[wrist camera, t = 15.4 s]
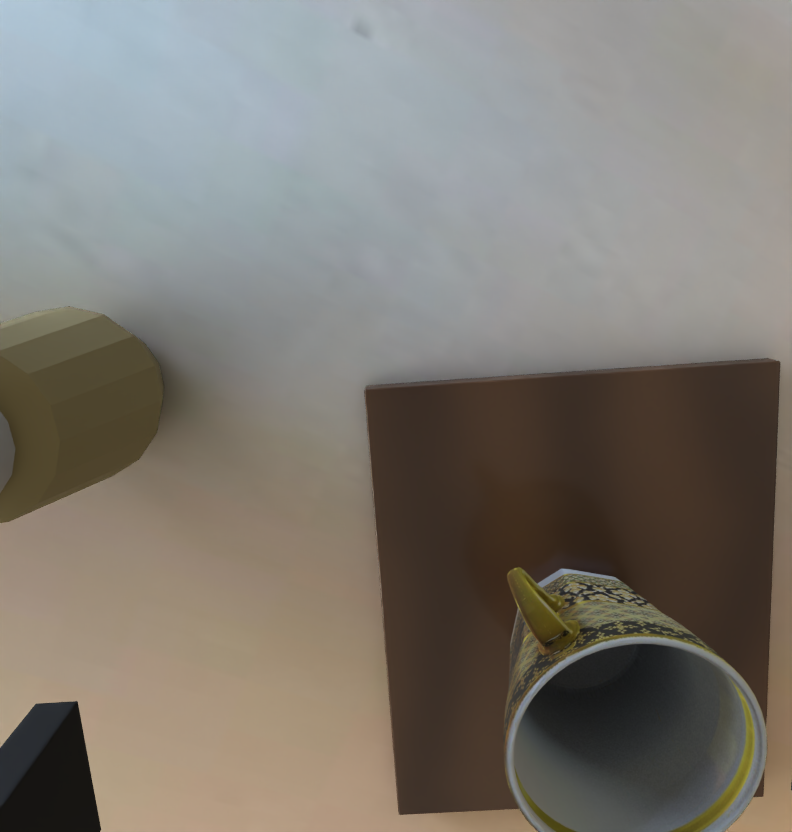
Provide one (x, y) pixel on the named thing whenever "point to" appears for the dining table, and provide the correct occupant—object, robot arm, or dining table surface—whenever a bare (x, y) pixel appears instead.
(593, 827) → the ceramic cup
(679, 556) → the serving board
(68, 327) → the squeeze bottle
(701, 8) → the dining table surface
